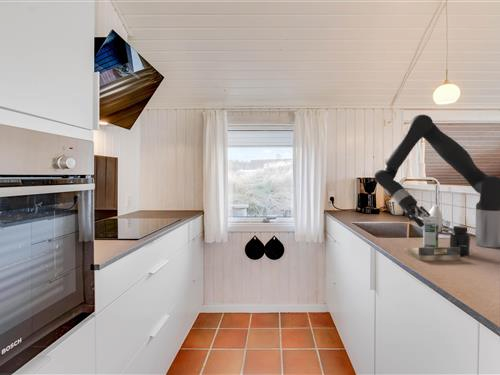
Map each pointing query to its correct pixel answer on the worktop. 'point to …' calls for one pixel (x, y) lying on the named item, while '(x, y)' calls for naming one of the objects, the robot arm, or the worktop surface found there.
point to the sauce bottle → (436, 213)
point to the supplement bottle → (460, 240)
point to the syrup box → (430, 231)
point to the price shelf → (434, 253)
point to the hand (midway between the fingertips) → (427, 225)
